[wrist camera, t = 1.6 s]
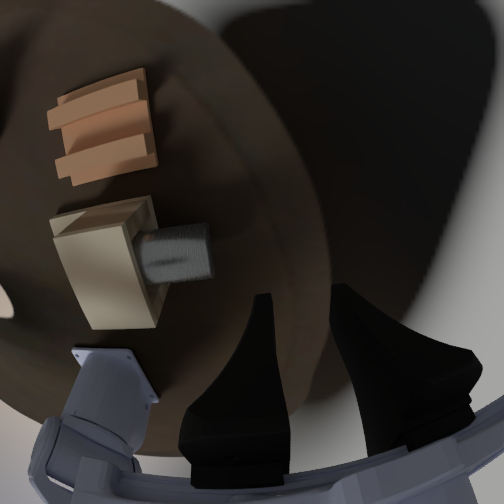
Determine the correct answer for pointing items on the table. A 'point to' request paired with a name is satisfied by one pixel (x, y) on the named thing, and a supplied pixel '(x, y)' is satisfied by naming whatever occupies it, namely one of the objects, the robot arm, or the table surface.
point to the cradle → (105, 128)
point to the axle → (175, 254)
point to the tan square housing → (109, 263)
